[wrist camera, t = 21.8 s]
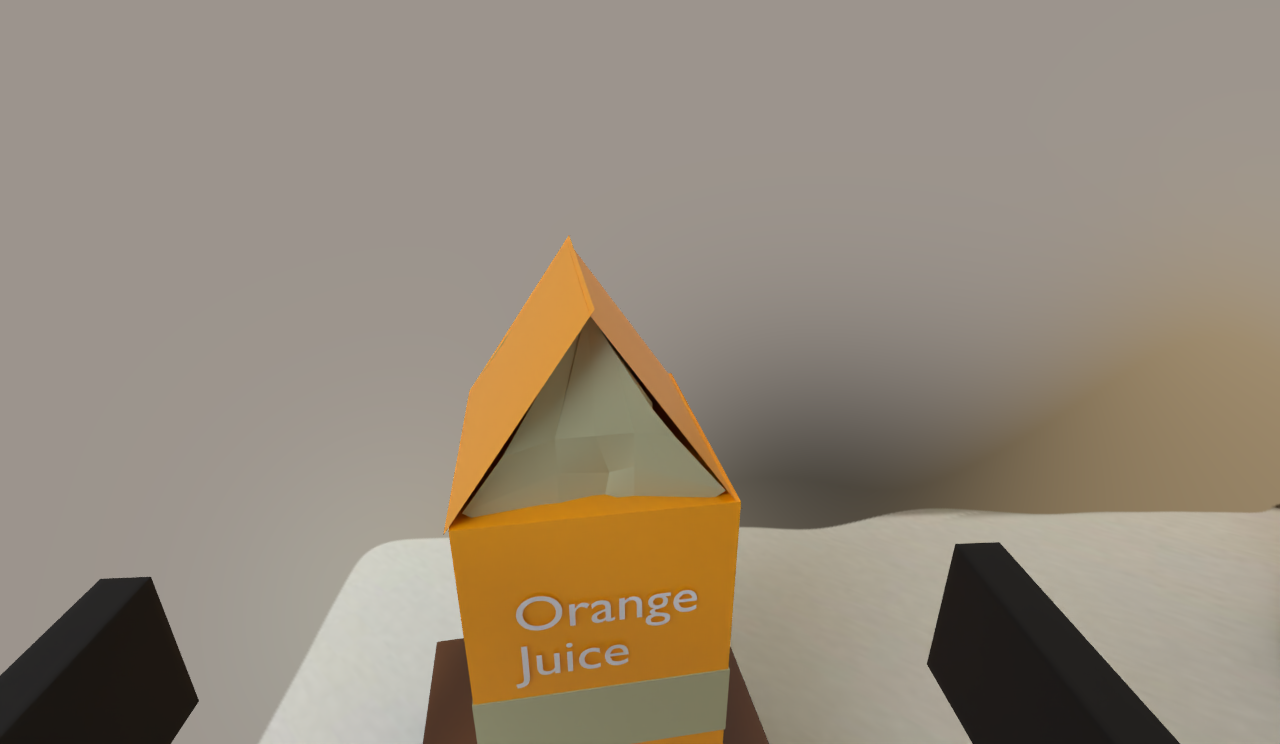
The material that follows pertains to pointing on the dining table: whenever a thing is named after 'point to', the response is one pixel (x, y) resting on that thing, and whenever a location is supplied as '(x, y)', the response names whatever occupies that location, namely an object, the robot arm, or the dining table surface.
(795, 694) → the dining table surface
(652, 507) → the orange juice
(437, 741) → the stand
